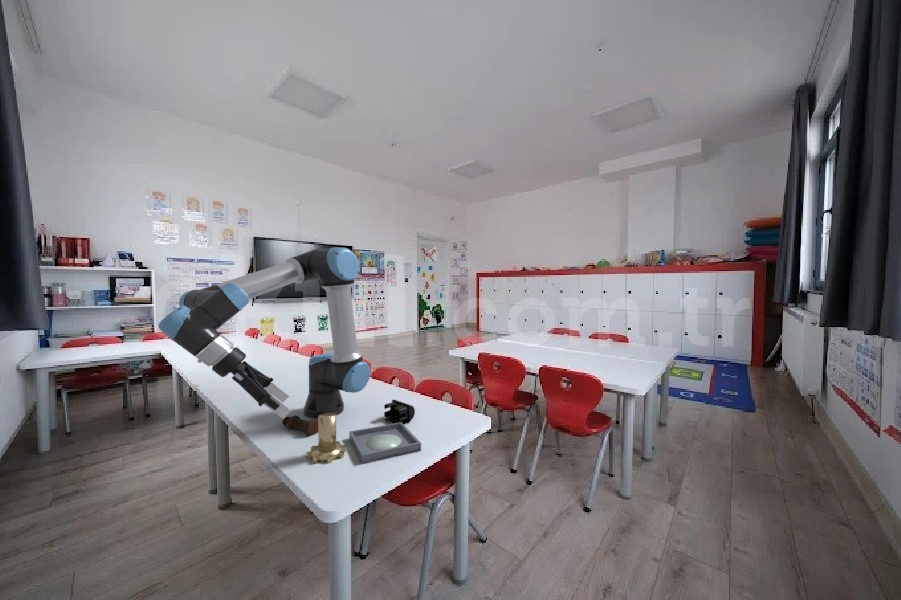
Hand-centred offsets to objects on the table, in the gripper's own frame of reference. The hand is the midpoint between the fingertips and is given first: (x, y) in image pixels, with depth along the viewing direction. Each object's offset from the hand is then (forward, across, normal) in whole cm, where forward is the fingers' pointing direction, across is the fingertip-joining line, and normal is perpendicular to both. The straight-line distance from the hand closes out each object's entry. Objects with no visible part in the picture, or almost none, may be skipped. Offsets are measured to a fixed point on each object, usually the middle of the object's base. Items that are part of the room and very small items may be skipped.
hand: (286, 406), depth 93 cm
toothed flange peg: (+19, 0, -4) cm, 19 cm away
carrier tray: (+31, +1, +9) cm, 32 cm away
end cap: (+39, -16, +16) cm, 45 cm away
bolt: (+15, -23, -8) cm, 29 cm away
